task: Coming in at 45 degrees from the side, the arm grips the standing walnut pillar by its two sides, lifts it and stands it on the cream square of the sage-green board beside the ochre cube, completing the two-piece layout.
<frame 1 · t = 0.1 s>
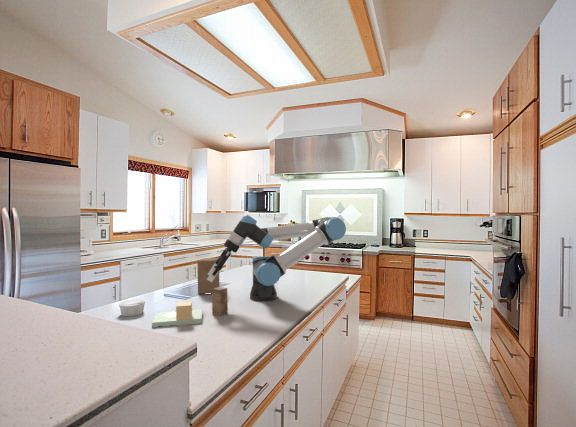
hand: (209, 278, 159), 15 cm above the worktop, tool tilted 35°, fingers open, 13 cm apart
block: (208, 292, 192), on the worktop
board: (179, 319, 143), on the worktop
ramekin: (132, 313, 154), on the worktop
cube: (184, 317, 140), point 2 cm above the worktop, touching board
pillar: (220, 313, 151), on the worktop
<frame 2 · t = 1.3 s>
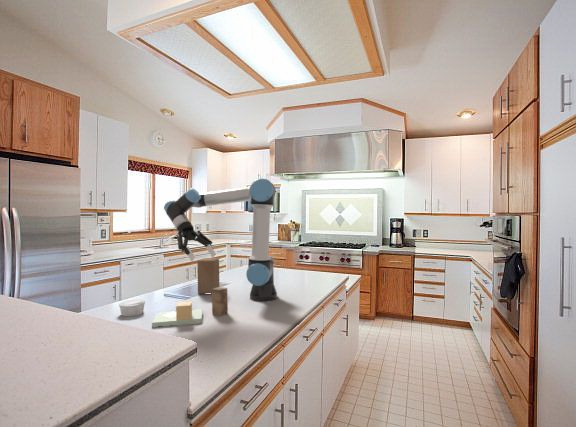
hand: (204, 257, 156), 26 cm above the worktop, tool tilted 45°, fingers open, 13 cm apart
nothing on the worktop moved.
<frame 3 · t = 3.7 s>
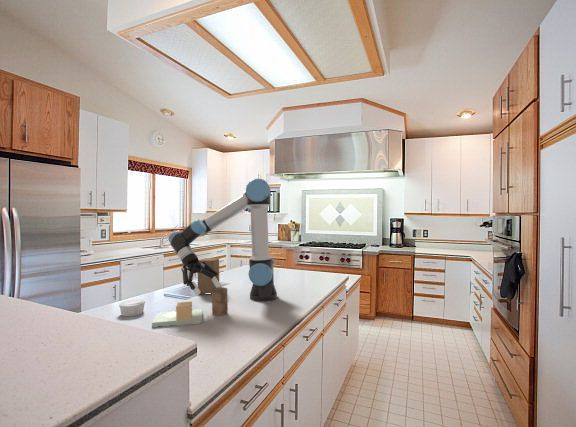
hand: (209, 291, 153), 10 cm above the worktop, tool tilted 45°, fingers open, 13 cm apart
nothing on the worktop moved.
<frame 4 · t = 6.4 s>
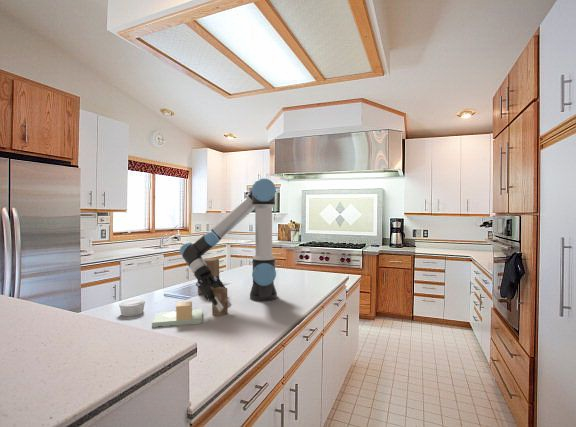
hand: (225, 308, 149), 3 cm above the worktop, tool tilted 45°, fingers closed on pillar, 5 cm apart
pillar: (220, 313, 151), on the worktop, touching gripper
everything else where it was.
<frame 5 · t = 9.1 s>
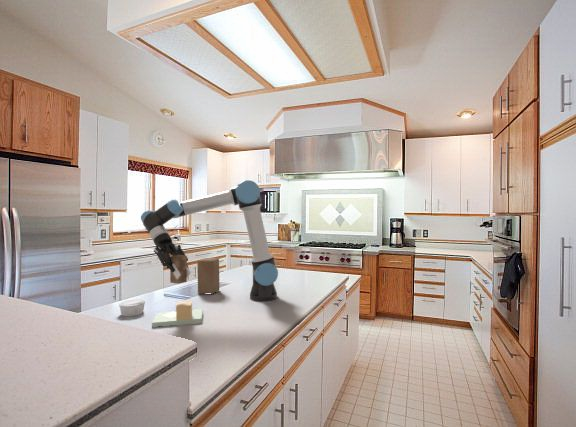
hand: (184, 275, 144), 20 cm above the worktop, tool tilted 45°, fingers closed on pillar, 5 cm apart
pillar: (178, 282, 146), point 16 cm above the worktop, touching gripper
everything else where it was.
when the fingers open (6 cm above the worktop, at t = 11.9 s): pillar drops 1 cm, resting on board.
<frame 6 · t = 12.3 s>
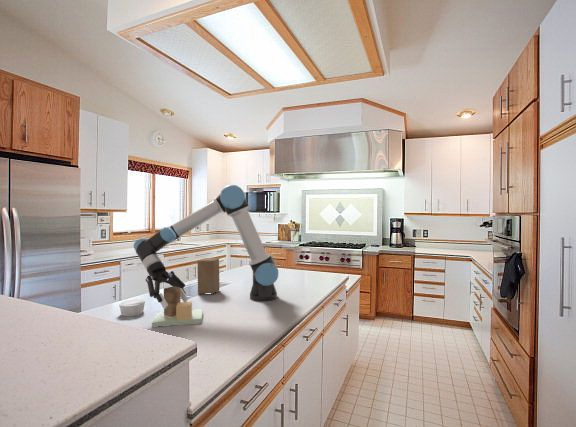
hand: (176, 304, 143), 7 cm above the worktop, tool tilted 45°, fingers open, 10 cm apart
pillar: (172, 314, 145), point 2 cm above the worktop, touching board
everything else where it was.
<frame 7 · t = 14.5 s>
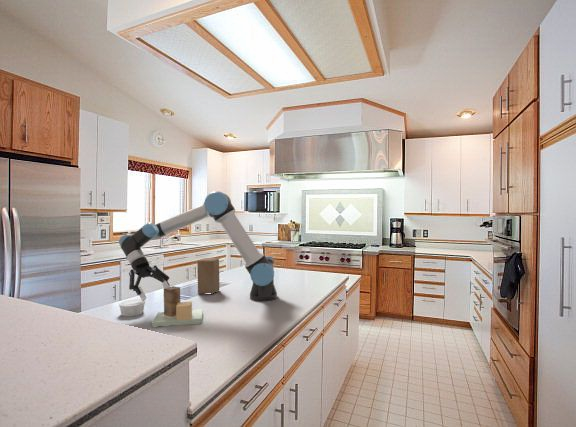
hand: (157, 296, 150), 9 cm above the worktop, tool tilted 45°, fingers open, 13 cm apart
nothing on the worktop moved.
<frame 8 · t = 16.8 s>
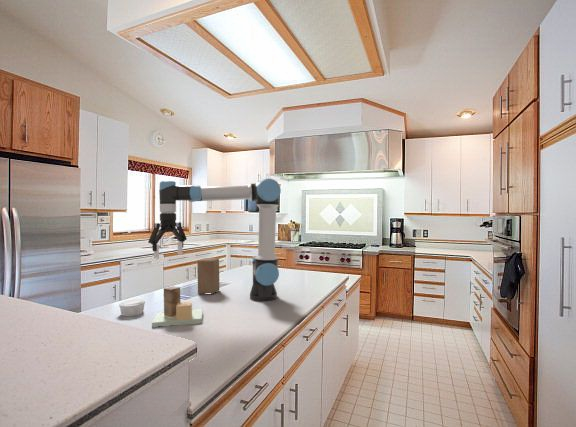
hand: (168, 256, 156), 27 cm above the worktop, tool pointing down, fingers open, 13 cm apart
nothing on the worktop moved.
at the end: pillar inside the target area (0.1 cm from its centre), point 2.0 cm above the worktop; pillar tilted 0°; the gripper is holding nothing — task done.
